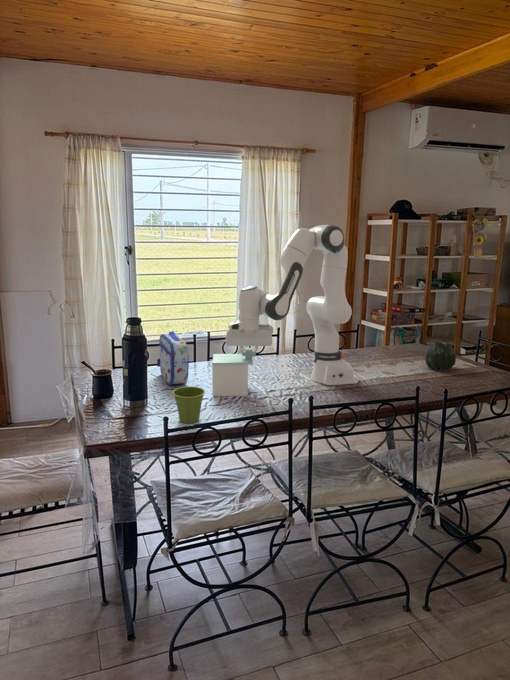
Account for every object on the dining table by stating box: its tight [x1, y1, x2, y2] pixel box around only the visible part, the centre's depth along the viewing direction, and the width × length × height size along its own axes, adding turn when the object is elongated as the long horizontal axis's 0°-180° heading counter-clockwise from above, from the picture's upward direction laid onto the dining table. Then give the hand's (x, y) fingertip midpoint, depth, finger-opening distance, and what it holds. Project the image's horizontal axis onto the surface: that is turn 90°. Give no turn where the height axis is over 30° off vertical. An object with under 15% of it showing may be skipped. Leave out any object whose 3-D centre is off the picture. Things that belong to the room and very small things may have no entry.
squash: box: [424, 341, 457, 372], centre depth 257 cm, size 14×15×15 cm
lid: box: [211, 347, 254, 366], centre depth 218 cm, size 17×15×5 cm
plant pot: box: [172, 386, 206, 424], centre depth 187 cm, size 12×12×11 cm
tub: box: [211, 365, 249, 397], centre depth 220 cm, size 15×14×14 cm
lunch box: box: [156, 330, 190, 385], centre depth 235 cm, size 28×10×22 cm, turn 23°
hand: (248, 355), depth 218 cm, fingers closed on lid, 3 cm apart
